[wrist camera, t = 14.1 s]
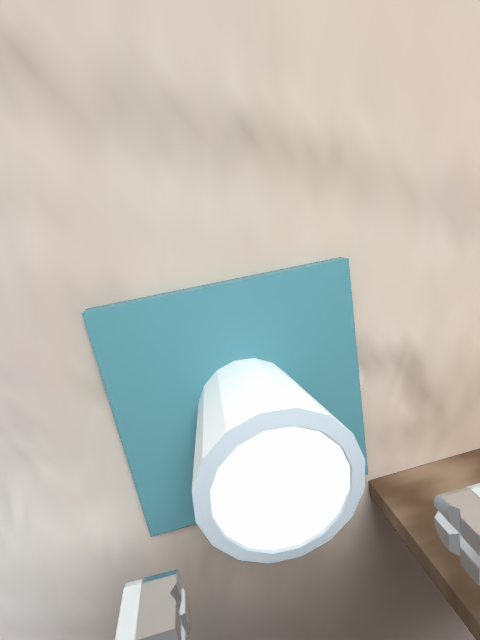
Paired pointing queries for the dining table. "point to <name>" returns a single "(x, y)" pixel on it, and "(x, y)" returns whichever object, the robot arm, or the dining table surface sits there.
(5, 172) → the dining table surface
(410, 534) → the box
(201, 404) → the shot glass
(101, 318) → the mat
